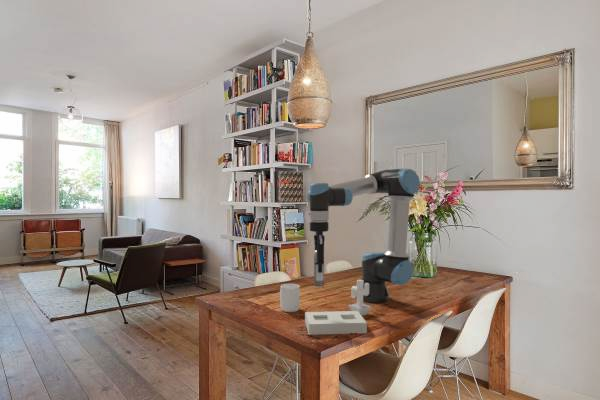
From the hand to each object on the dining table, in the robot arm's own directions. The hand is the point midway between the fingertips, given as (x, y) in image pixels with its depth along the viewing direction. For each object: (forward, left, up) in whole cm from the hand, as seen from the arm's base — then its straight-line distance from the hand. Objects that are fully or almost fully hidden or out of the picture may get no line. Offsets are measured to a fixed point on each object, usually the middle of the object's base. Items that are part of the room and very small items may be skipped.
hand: (319, 278), depth 151 cm
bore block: (-6, +5, -18) cm, 20 cm away
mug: (+11, -20, -18) cm, 29 cm away
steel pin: (0, 0, -3) cm, 3 cm away
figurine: (-20, -10, -18) cm, 29 cm away
